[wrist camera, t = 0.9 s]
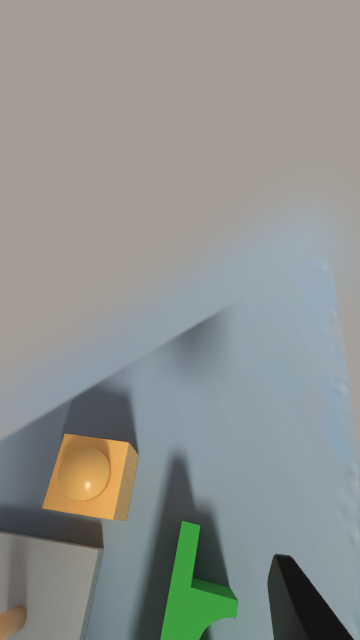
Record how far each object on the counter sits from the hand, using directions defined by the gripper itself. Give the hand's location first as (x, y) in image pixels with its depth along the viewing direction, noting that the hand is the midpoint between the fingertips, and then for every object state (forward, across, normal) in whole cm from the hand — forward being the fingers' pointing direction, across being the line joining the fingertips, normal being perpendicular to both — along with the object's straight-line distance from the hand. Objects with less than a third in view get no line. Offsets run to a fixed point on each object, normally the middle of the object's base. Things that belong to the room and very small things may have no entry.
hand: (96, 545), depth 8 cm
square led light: (+14, +3, +11) cm, 18 cm away
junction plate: (+9, +6, +17) cm, 20 cm away
